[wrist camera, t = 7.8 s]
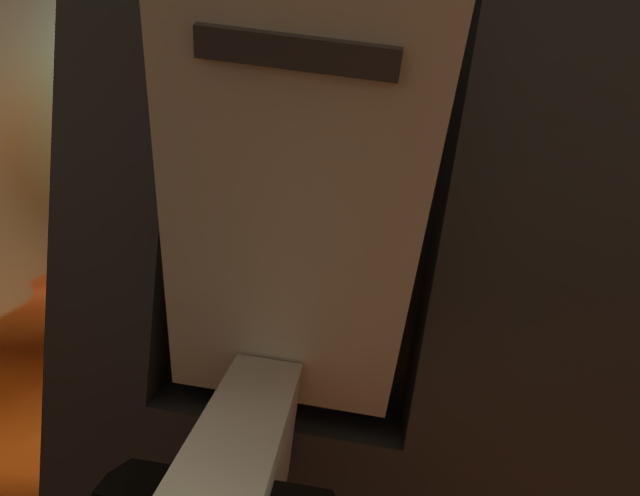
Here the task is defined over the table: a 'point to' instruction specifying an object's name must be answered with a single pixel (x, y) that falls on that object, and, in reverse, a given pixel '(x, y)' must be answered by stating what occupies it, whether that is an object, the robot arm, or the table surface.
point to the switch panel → (429, 286)
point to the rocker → (297, 180)
